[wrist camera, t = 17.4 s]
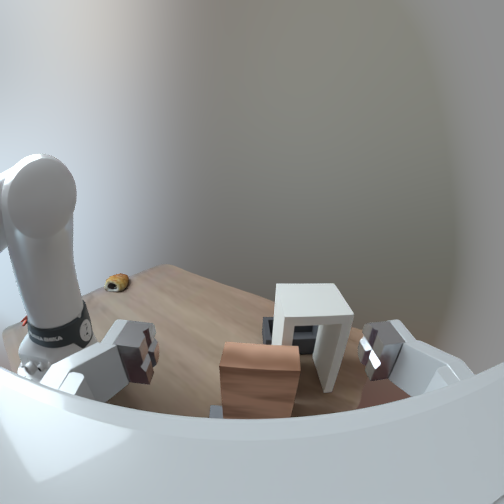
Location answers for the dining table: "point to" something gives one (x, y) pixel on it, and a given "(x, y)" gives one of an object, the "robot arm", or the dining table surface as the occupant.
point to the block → (258, 380)
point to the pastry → (116, 282)
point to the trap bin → (301, 337)
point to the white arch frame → (314, 313)
